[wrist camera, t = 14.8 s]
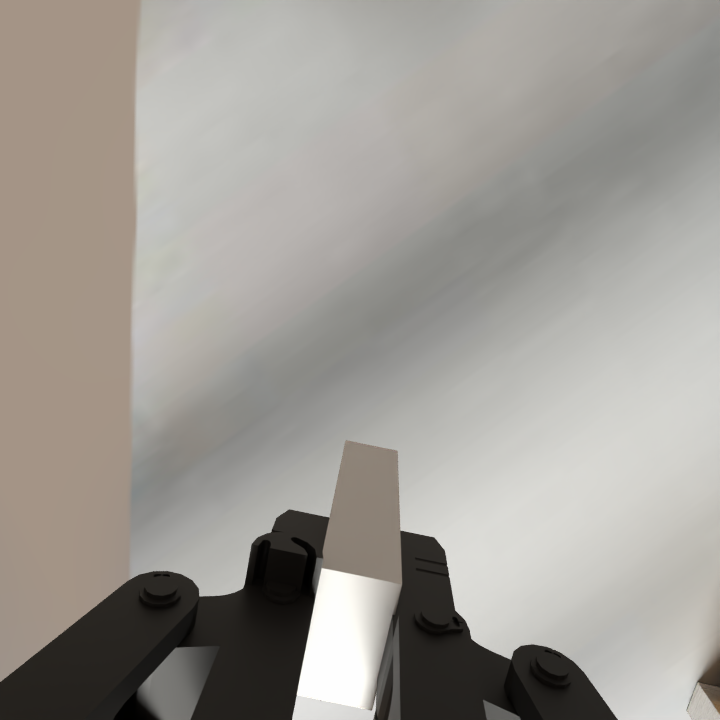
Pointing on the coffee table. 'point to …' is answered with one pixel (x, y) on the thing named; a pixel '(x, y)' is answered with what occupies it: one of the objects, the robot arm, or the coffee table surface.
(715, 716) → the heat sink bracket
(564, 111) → the coffee table surface
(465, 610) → the coffee table surface
